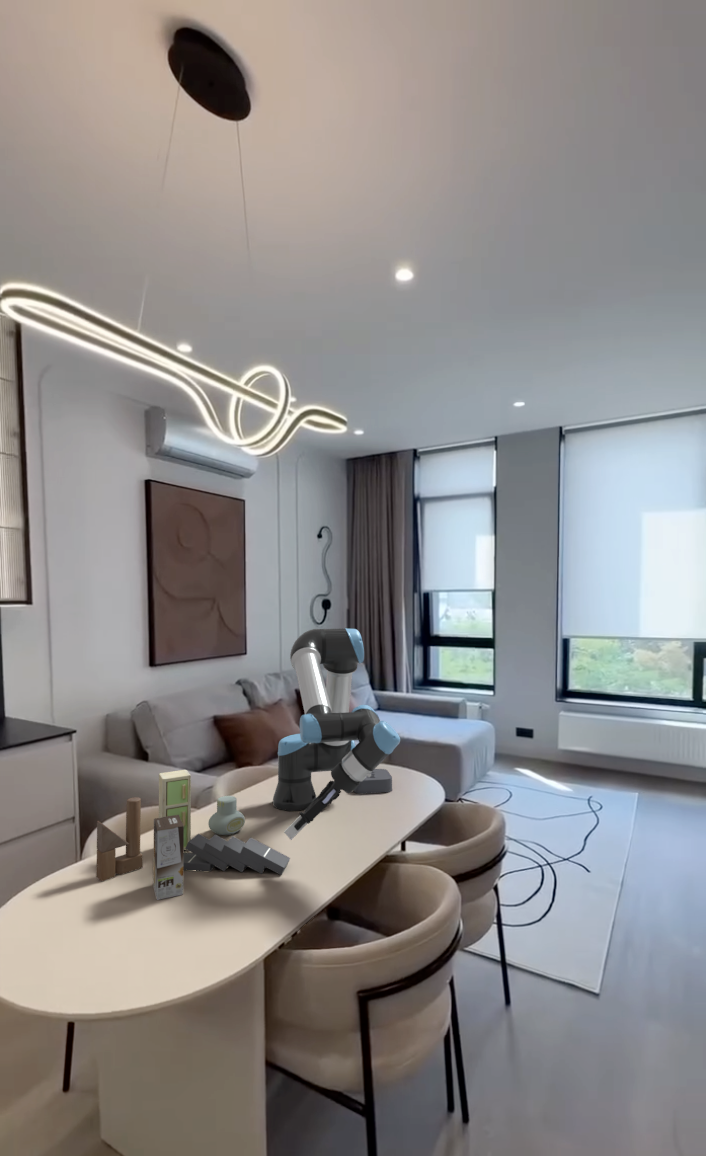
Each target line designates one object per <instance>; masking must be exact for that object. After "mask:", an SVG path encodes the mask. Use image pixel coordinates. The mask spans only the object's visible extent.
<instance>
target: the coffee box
mask: <svg viewBox="0 0 706 1156" xmlns="http://www.w3.org/2000/svg"><path fill="white" fill-rule="evenodd" d="M184 853H185V852H184V825H183V823H182V821H181V819H180V816H179V815H172V816H166V817H162V818H159V817H157V818H153V859H152V860H153V863H152V864H153V869H152V873H153V877H152V879H153V881H152V885H153V890H154V895H155V899H156V901H157V900H158V901H159V900H163V899H169V898H172V897H178V896H182V895H183V894H184V870H183V859H184Z"/></svg>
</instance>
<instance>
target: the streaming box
mask: <svg viewBox="0 0 706 1156" xmlns="http://www.w3.org/2000/svg"><path fill="white" fill-rule="evenodd" d="M370 774H371V776H370V777H368V776H366V778H365V779H364V780H363V781H362V782H360V784H359V785H358V786H357V787H356V788H355V789H354V790H353V792H354V793H355V794H358V795H359V794H361V795H362V794H365V793H367V794H382V793H381V792H386V793H390V791H391V792H392V791H393V776H392V775H391V774H390V772H389V771H388V770H387V769H385V768H375V769H374V770H373V771H372V772H371V773H370Z"/></svg>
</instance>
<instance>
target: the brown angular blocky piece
mask: <svg viewBox="0 0 706 1156" xmlns="http://www.w3.org/2000/svg"><path fill="white" fill-rule="evenodd" d="M141 800H142V799H141V797H139V796H135V797H130V798H127V799H126V802H125V804H126V805H125V807H126V809H125V810H126V811H125V839H123V838H122V837H121V835H119V834H117V833H116V832H114V831H113V830H112V829H110V828H109V827H108V826H107V825H105V824H103V823H102V822H101V821H100V820H97V821H96V875H95V876H96V878H97V880H99V881H100V882H104V881H107V880H108V881H109V880H110V879H114V878H115V877H116V875H124V874H125V875H126V874H127V873H131V872H134V871H137V870H139V869H142V868H143V854H142V853H141V819H142V818H141V815H142V814H141V813H142V812H141V810H142V808H141V807H142V801H141ZM122 847H125V854H122V855H119V856H116V853H117V852H116V849H118V848H122Z"/></svg>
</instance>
